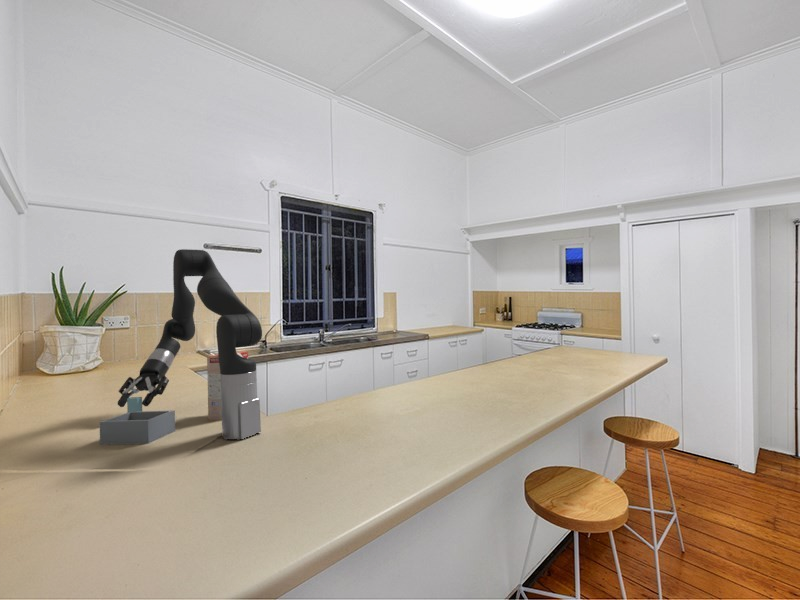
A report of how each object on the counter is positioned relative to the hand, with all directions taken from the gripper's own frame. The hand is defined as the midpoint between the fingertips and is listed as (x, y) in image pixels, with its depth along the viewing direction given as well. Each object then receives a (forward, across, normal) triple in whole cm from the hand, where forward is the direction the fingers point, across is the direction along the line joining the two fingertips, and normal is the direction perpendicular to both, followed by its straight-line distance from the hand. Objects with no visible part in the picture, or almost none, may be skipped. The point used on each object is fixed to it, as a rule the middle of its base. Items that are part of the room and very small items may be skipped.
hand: (132, 405), depth 119 cm
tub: (+15, +15, -6) cm, 22 cm away
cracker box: (-1, +28, +10) cm, 30 cm away
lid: (+4, +4, +6) cm, 8 cm away
